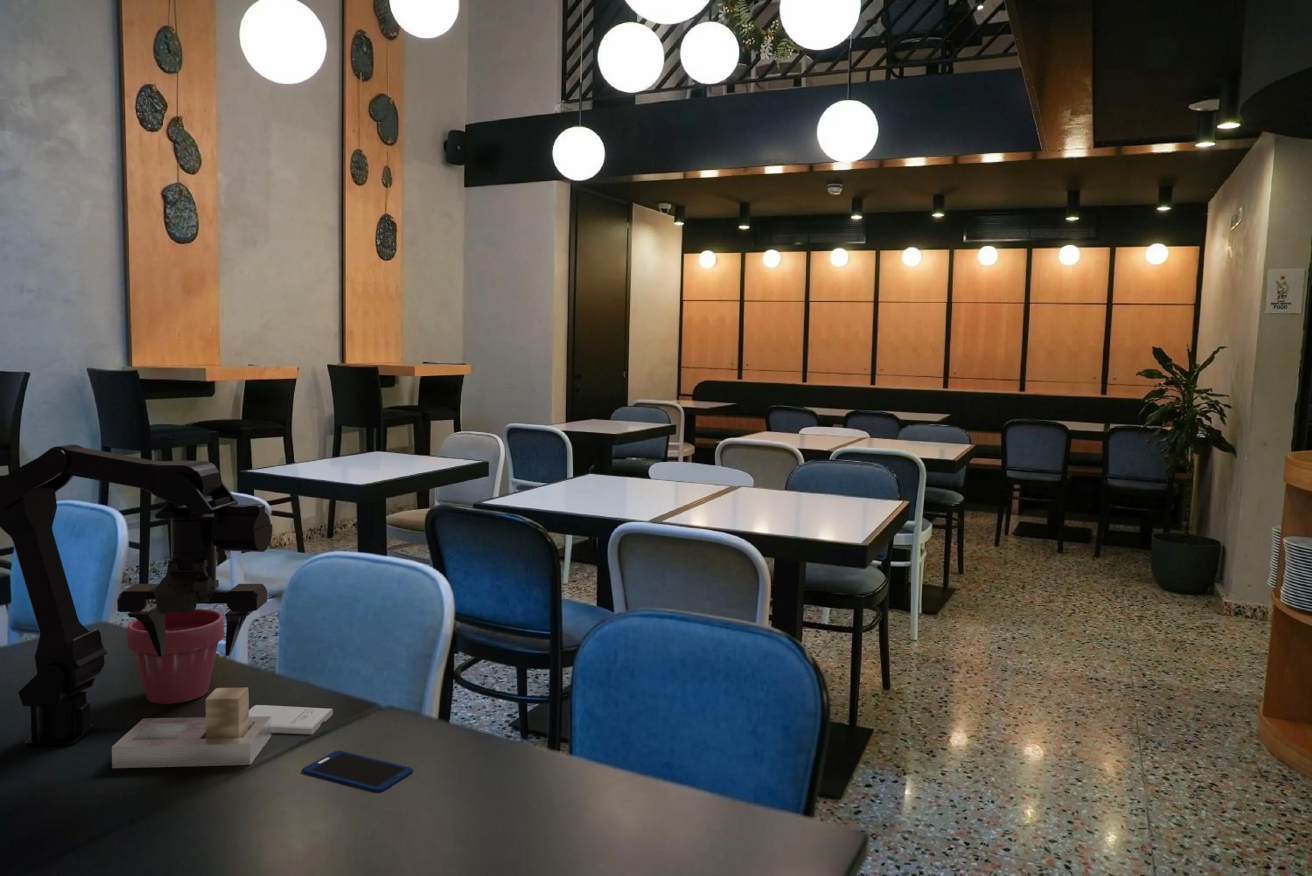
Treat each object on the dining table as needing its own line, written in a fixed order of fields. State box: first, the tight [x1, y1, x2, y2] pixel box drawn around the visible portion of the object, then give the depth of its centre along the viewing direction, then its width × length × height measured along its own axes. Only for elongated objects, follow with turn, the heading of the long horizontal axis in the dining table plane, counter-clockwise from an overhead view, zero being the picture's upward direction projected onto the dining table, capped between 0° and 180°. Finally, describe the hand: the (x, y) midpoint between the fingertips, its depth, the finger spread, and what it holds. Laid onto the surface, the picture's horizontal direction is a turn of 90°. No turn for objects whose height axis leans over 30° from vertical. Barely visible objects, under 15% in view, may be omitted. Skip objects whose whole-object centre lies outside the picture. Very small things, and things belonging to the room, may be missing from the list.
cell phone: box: [301, 750, 414, 793], centre depth 126 cm, size 7×14×1 cm, turn 67°
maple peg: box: [205, 687, 250, 739], centre depth 131 cm, size 4×4×8 cm
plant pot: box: [126, 608, 225, 705], centre depth 152 cm, size 14×14×13 cm
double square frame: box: [111, 716, 272, 769], centre depth 131 cm, size 18×10×3 cm, turn 97°
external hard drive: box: [249, 704, 334, 735], centre depth 142 cm, size 2×8×12 cm
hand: (195, 655), depth 133 cm, fingers open, 9 cm apart
